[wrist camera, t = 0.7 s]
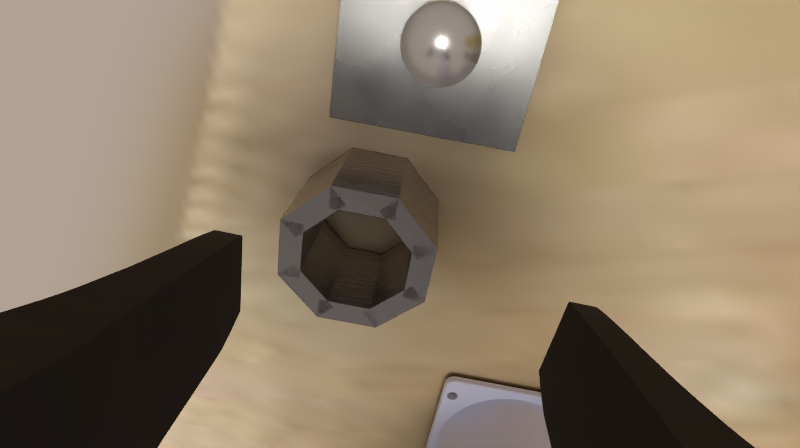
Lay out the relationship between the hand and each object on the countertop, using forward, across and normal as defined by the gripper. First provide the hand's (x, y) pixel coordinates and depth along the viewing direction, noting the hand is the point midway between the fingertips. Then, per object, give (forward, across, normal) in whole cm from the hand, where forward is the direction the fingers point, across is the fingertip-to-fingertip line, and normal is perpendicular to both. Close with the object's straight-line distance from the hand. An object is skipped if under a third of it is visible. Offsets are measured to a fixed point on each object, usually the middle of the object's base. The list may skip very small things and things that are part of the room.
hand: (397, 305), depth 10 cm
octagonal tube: (+9, +2, +3) cm, 10 cm away
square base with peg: (+9, 0, -5) cm, 11 cm away
